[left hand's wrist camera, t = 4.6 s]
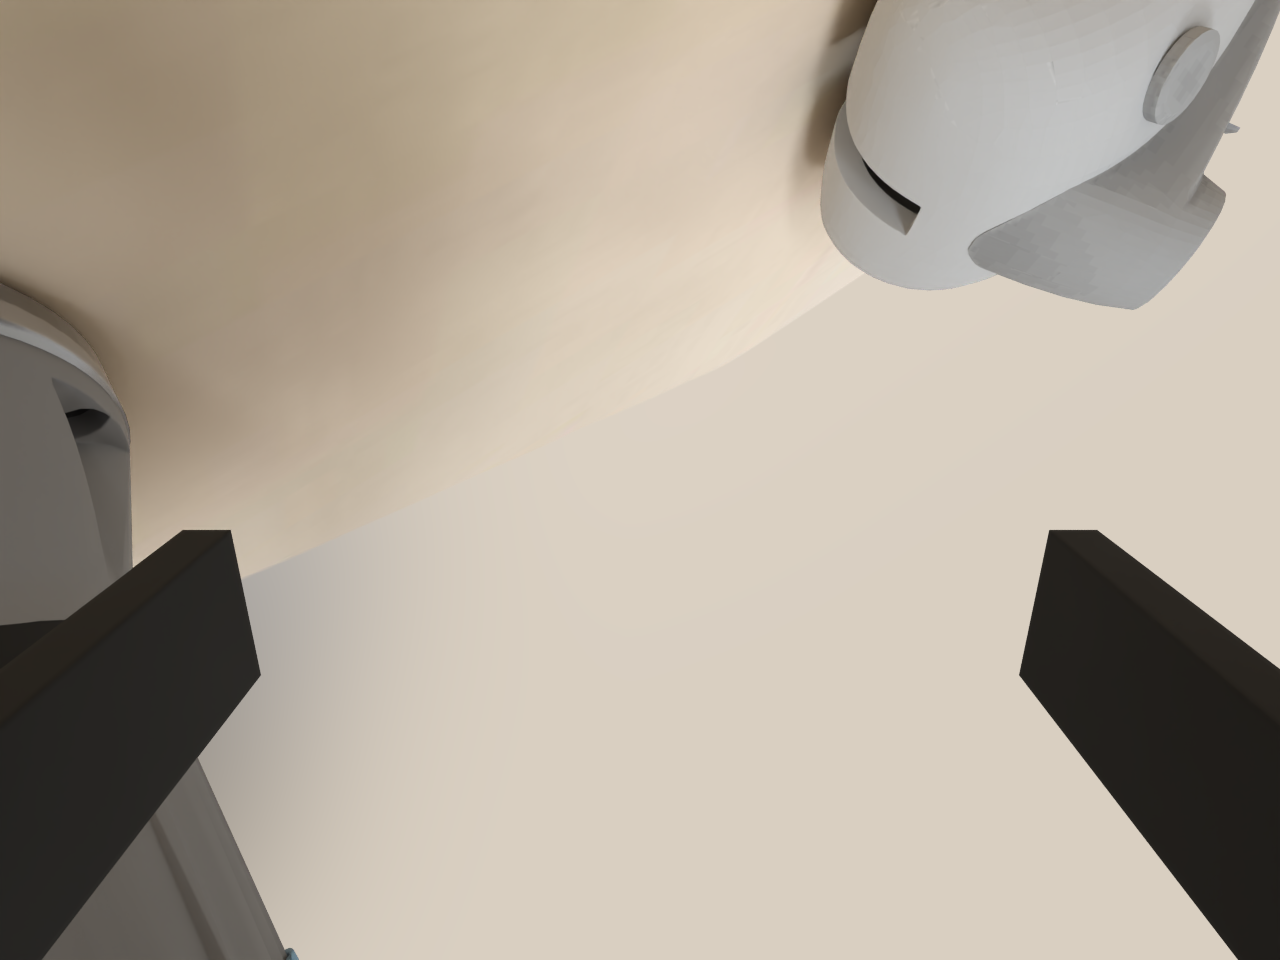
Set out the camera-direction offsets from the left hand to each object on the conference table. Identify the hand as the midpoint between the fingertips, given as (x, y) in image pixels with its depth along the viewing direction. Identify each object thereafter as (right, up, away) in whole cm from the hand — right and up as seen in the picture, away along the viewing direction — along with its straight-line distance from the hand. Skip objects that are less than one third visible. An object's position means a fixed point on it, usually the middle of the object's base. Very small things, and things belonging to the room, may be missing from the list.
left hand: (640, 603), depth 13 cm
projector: (+16, +24, +20) cm, 35 cm away
